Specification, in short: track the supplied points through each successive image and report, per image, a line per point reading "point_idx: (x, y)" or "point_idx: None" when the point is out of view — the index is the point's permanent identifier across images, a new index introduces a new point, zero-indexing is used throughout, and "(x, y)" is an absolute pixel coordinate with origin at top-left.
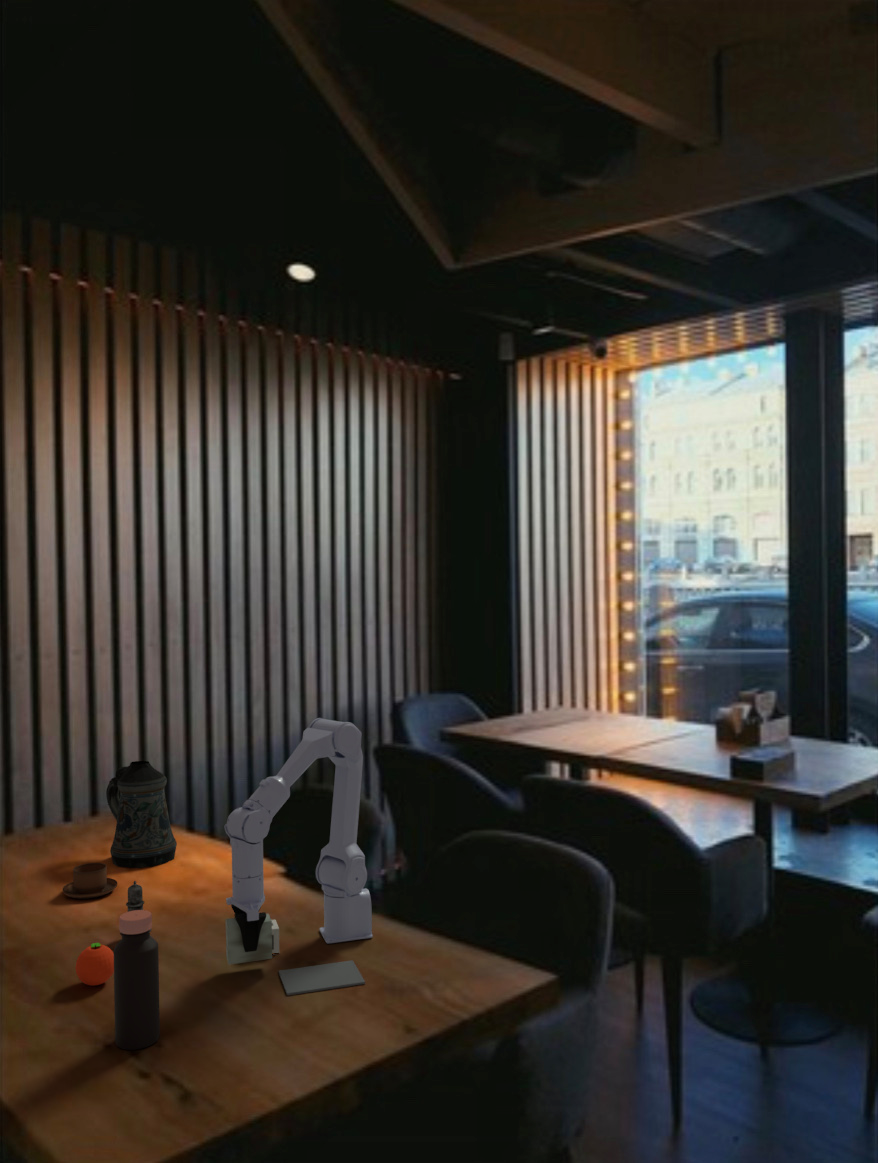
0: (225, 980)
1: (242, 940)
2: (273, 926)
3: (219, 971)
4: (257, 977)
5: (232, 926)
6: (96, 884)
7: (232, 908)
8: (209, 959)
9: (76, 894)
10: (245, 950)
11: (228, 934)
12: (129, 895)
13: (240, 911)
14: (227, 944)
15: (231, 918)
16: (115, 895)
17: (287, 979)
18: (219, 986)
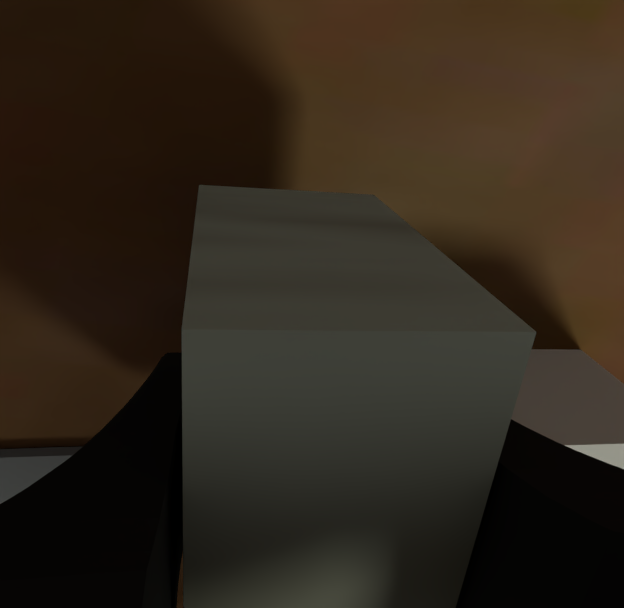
0: (163, 136)
1: (169, 391)
2: None
3: (335, 122)
4: (143, 335)
5: (185, 395)
6: None
7: (619, 536)
8: (562, 90)
9: None
10: (161, 361)
11: (191, 285)
12: None
13: (533, 577)
14: (260, 230)
15: (509, 409)
16: None
17: (21, 481)
18: (65, 73)
